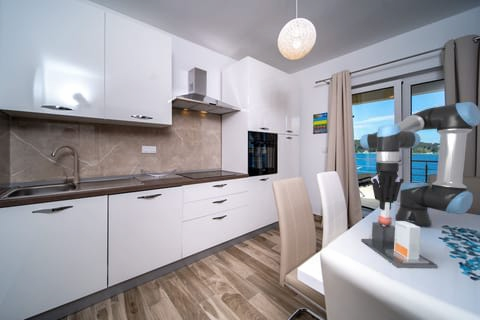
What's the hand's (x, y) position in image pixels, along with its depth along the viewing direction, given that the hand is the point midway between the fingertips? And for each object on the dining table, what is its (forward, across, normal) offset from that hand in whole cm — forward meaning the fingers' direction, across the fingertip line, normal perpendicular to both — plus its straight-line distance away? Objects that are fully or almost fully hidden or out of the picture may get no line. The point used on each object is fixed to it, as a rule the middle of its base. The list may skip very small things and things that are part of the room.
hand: (384, 216), depth 78 cm
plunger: (+11, 0, 0) cm, 11 cm away
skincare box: (+11, 0, +10) cm, 15 cm away
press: (+13, 0, +6) cm, 14 cm away
